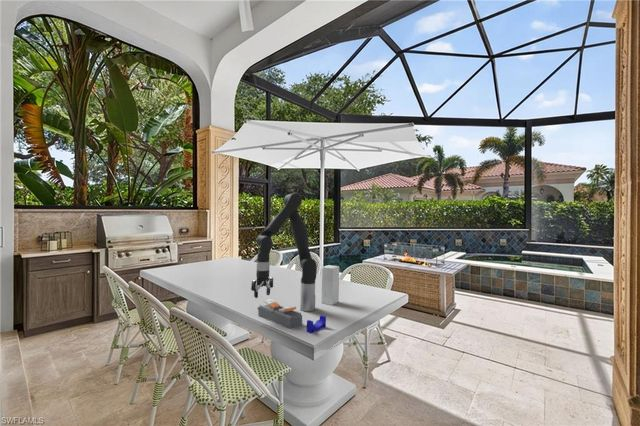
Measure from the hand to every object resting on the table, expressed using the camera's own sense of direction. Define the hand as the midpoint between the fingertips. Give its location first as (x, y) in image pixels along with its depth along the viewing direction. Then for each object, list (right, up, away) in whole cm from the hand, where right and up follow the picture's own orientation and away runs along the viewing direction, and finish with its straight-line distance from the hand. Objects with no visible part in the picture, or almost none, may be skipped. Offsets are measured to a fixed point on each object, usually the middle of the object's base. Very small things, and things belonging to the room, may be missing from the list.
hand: (262, 296), depth 180 cm
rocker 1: (+6, -5, 0) cm, 8 cm away
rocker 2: (+16, -6, -9) cm, 19 cm away
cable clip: (+32, -13, -17) cm, 38 cm away
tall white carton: (+41, -13, +30) cm, 53 cm away
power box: (+9, -12, -2) cm, 15 cm away
